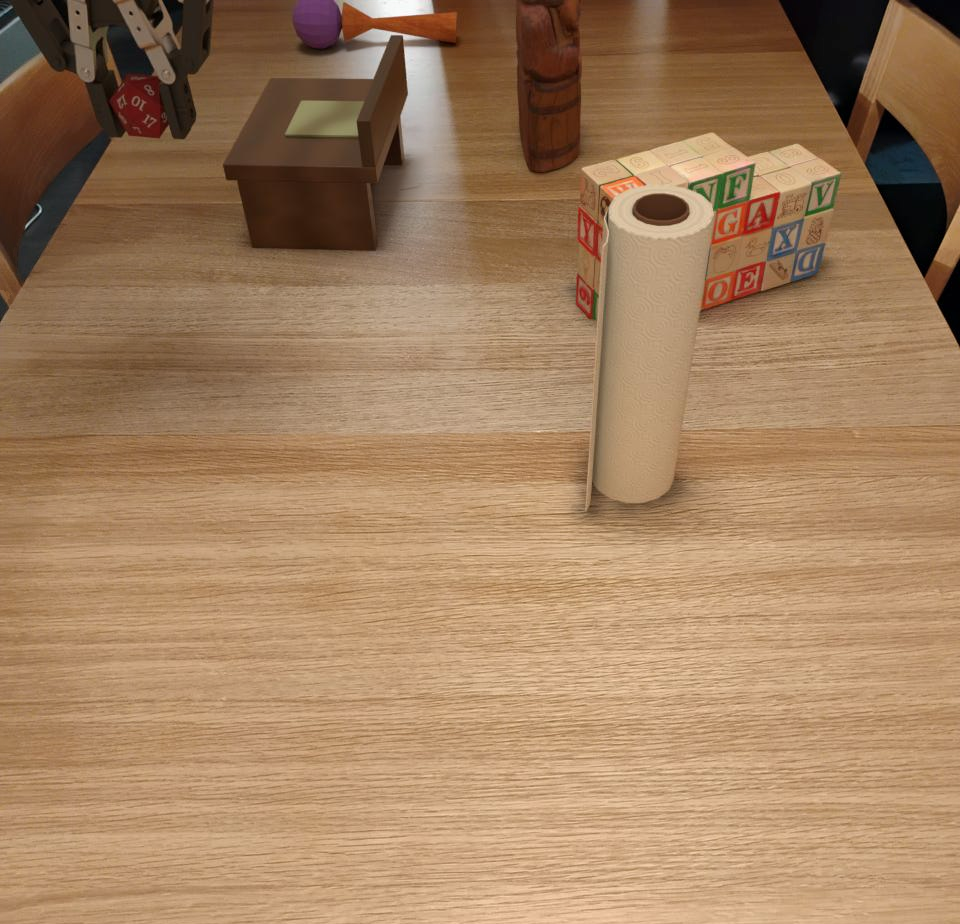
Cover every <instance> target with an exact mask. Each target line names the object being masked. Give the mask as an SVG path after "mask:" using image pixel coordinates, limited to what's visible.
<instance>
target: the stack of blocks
mask: <svg viewBox="0 0 960 924" xmlns="http://www.w3.org/2000/svg"><path fill="white" fill-rule="evenodd" d="M841 177H842V172H840V171H839V170H838V169H836V168H834V167H833V166H832V165H830V164H829V163H827V162H826V161H825V160H823V158H819V157H818V156H816V155H815V154H813V153H812V152H811V151H809V150H808V149H806V148H805V147H804V146H802V144H801V145H800V144H799V143H793V144H790V145H787V146H784V147H779V148H777V149H773V150H771V151H765V152H761V153H757V154H753V155H749V156H746V154H744V153H742V152H741V151H740V150H738V149H737V148H736V147H733V146H732V145H730V144H729V143H727V142H726V141H725V140H723V139H722V138H721V136H718V134H716V133H715V132H708V133H705V134H701V135H698V136H697V135H696V136H693V137H690V138H686V139H683V140H681V141H676V142H672V143H669V144H666V145H661V146H658V147H655V148H654V147H653V148H652V149H650V150H644V151H641V152H637V153H633V154H630V155H626V156H623V157H619V158H617V159H610V160H605V161H602V162H599V163H596V164H592V165H587V166H584V167H582V168H581V169H580V186H579V189H580V190H579V191H580V192H579V205H578V208H577V232H576V233H577V234H576V237H577V262H576V264H577V266H576V268H577V269H576V271H577V272H576V284H575V286H576V288H575V304H576V305H577V306H578V308H579V309H580V310H581V311H582V313H584V314H585V316H587V317H588V319H590V320H597V317H598V301H599V285H600V269H601V253H602V238H603V222H604V216H605V214H606V212H607V210H608V208H609V206H610V204H611V202H612V201H613V199H614V198H615V197H616V196H617V195H619V194H621V193H623V192H624V191H626V190H628V189H632V188H636V187H640V186H645V185H672V186H677V187H683V188H687V189H689V190H692V191H694V192H696V193H699V194H701V195H702V196H703V197H705V198H706V199H707V200H708V201H709V202H710V203H711V204H712V208H713V212H714V223H713V229H712V236H711V242H710V249H709V255H708V262H707V268H706V275H705V281H704V288H703V294H702V301H701V307H700V312H702V310H707V309H709V308H712V307H715V306H718V305H723V304H725V303H728V302H730V301H733V300H737V299H739V298H744V297H746V296H750V295H753V294H756V293H758V292H764V291H767V290H770V289H773V288H776V287H780V286H783V285H785V284H786V285H787V284H789V283H793V282H796V281H799V280H802V279H803V280H804V279H805V278H809V277H812V276H815V275H818V273H819V270H820V266H821V263H822V259H823V255H824V251H825V248H826V241H827V240H828V235H829V232H830V228H831V225H832V221H833V220H832V219H833V216H834V211H835V209H834V206H835V202H836V199H837V194H838V190H839V186H840V181H841Z"/></svg>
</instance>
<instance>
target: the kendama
mask: <svg viewBox="0 0 960 924" xmlns="http://www.w3.org/2000/svg"><path fill="white" fill-rule="evenodd" d="M291 18H292V19H291V20H292V25H293V28H294V30H295V33H296V36H297V37H298V39H300V41H302V43H303V44H305V45H306V46H308V47H311V48H312V49H323V50H325V49H327V48H329V47H331V46H333V45H334V44H335V43H336V42H337V40H338V39H340V35H341V33H342V37H343V42H344V43H345V42H348V41H350V40H352V39H354V38H356V37H358V36H361V35H362V34H365V33H367V32H369V31H371V30H379V31H384V32H390V33H394V34H395V33H396V34H400V35H407V36H412V37H417V38H424V39H430V40H435V41H440V42H446V43H450V44H451V43H452V44H457V32H458V29H457V27H458V12H457V11H452V12H438V13H437V12H436V13H423V14H412V15H399V16H398V15H397V16H385V17H371V16H369V14H366V13H365V12H363V11H361V10H359V9H357V8H356V7H354V6H352V5H350V4H349V3H347V2H345V1H343V2H342V9H341V10H340V7H339V5H338V3H336V1H335V0H297V1H296V3H295V5H294V7H293V11H292V17H291Z"/></svg>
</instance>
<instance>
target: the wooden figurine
mask: <svg viewBox="0 0 960 924" xmlns="http://www.w3.org/2000/svg"><path fill="white" fill-rule="evenodd" d="M515 1H516V4H515V5H516V6H515V9H516V10H515V37H516V38H515V41H516V47H517V48H516V59H517V60H516V61H517V63H516V90H517V91H516V93H517V106H518V108H517V109H518V128H519V136H520V140H521V144H522V147H523V154H524V159H525V161H526V164H527V167H528V169H529V170H531V171H533V172H535V173H545V172H549V171H553V170H557V169H561V168H563V167H565V166H567V165H569V164H571V163H572V162H574V161H575V160H576V158H577V157H578V156H579V153H580V148H581V115H582V114H581V112H582V84H581V80H582V77H583V62H582V61H583V60H582V59H583V54H582V52H581V32H580V21H581V20H580V18H581V14H582V9H581V4H580V2H581V0H515Z"/></svg>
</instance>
